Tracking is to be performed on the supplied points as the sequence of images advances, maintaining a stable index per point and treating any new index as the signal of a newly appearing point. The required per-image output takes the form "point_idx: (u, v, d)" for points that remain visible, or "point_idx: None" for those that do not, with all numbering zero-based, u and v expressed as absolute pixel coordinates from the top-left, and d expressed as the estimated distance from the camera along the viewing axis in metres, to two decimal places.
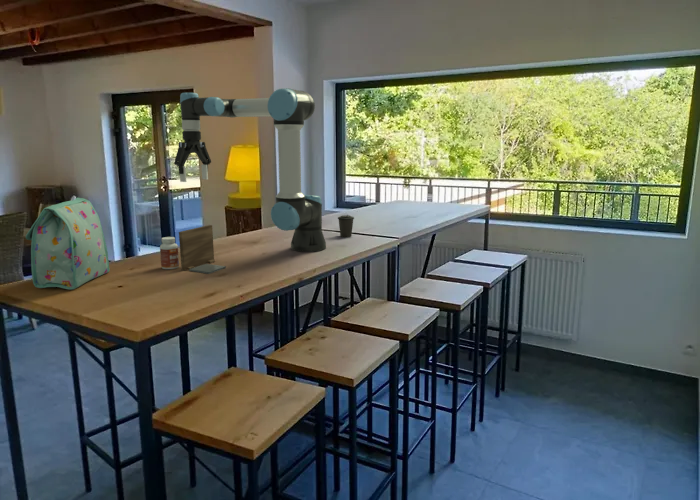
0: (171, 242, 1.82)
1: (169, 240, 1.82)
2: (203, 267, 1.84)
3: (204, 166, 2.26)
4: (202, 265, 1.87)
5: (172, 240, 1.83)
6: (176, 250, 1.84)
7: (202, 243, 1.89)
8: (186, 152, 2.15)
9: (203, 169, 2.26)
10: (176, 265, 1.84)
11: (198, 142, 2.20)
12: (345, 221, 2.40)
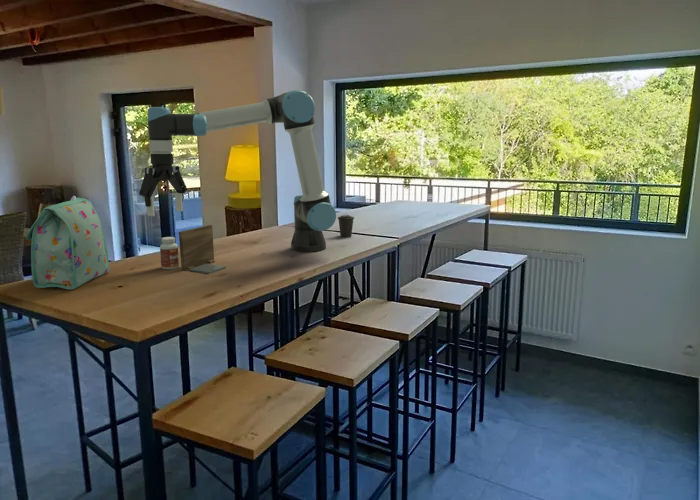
0: (171, 242, 1.82)
1: (169, 240, 1.82)
2: (203, 267, 1.84)
3: (178, 195, 1.86)
4: (202, 265, 1.87)
5: (172, 240, 1.83)
6: (176, 250, 1.84)
7: (202, 243, 1.89)
8: (155, 180, 1.75)
9: (177, 199, 1.86)
10: (176, 265, 1.84)
11: (170, 167, 1.80)
12: (345, 221, 2.40)
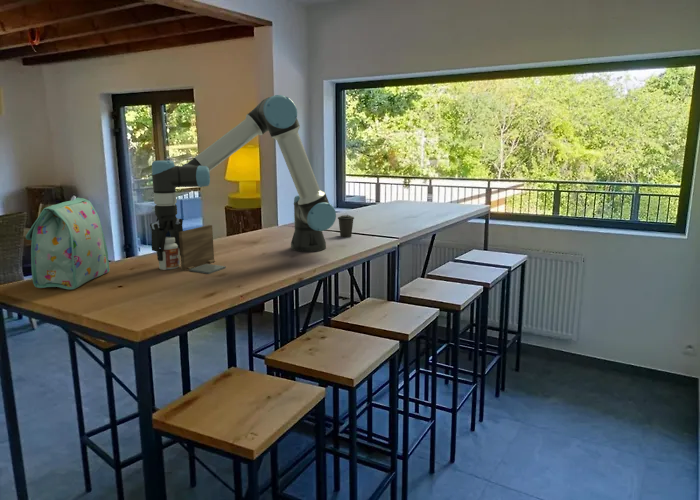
0: (171, 242, 1.82)
1: (169, 240, 1.82)
2: (203, 267, 1.84)
3: None
4: (202, 265, 1.87)
5: (172, 240, 1.83)
6: (176, 250, 1.84)
7: (202, 243, 1.89)
8: (162, 233, 1.80)
9: None
10: (176, 265, 1.84)
11: (175, 217, 1.84)
12: (345, 221, 2.40)
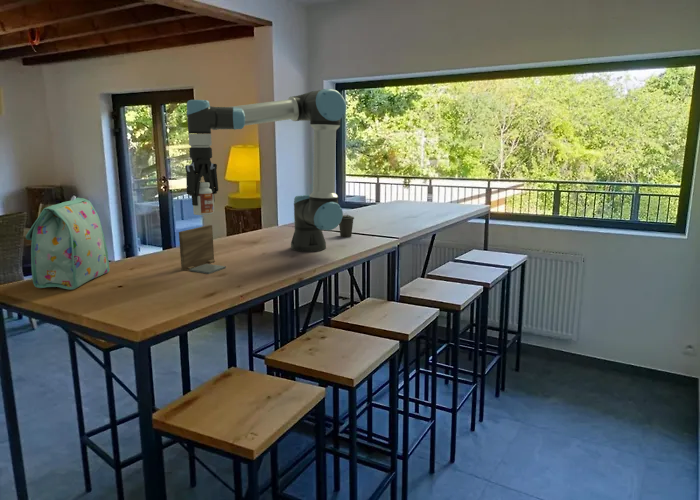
0: (206, 186, 1.76)
1: (204, 184, 1.75)
2: (203, 267, 1.84)
3: None
4: (202, 265, 1.87)
5: (207, 184, 1.76)
6: (211, 195, 1.77)
7: (202, 243, 1.89)
8: (197, 176, 1.73)
9: None
10: (210, 211, 1.77)
11: (209, 160, 1.77)
12: (345, 221, 2.40)
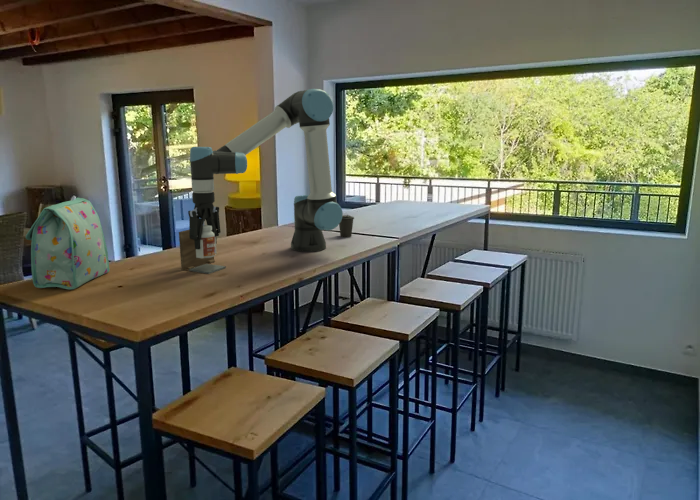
0: (208, 230, 1.79)
1: (206, 228, 1.78)
2: (203, 267, 1.84)
3: None
4: (202, 265, 1.87)
5: (209, 228, 1.79)
6: (213, 239, 1.80)
7: None
8: (199, 221, 1.77)
9: None
10: (212, 254, 1.81)
11: (212, 204, 1.81)
12: (345, 221, 2.40)
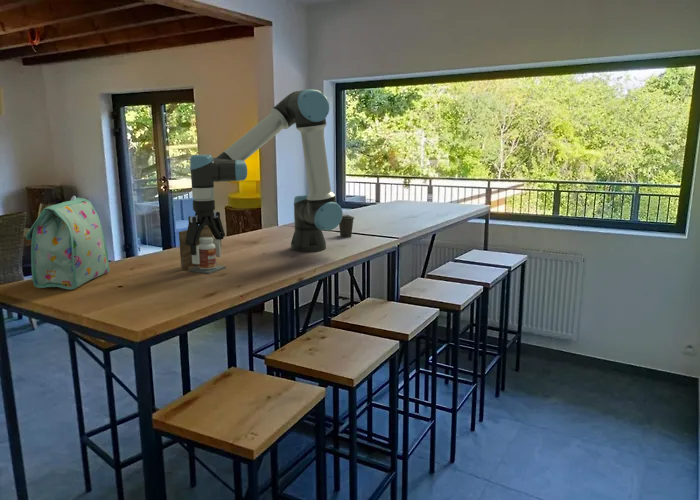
0: (209, 242, 1.80)
1: (207, 240, 1.79)
2: None
3: (217, 241, 1.86)
4: None
5: (210, 240, 1.80)
6: (214, 250, 1.81)
7: None
8: (198, 227, 1.77)
9: (215, 245, 1.87)
10: (213, 265, 1.82)
11: (212, 212, 1.81)
12: (345, 221, 2.40)
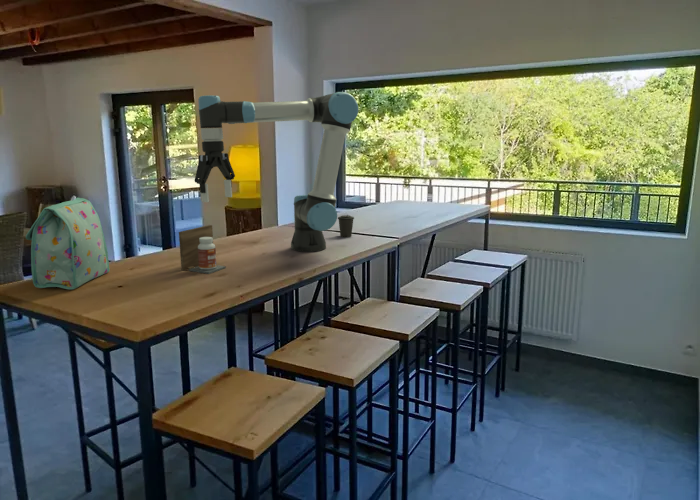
0: (209, 242, 1.80)
1: (207, 240, 1.79)
2: None
3: (227, 182, 1.91)
4: None
5: (210, 240, 1.80)
6: (214, 250, 1.81)
7: None
8: (208, 167, 1.80)
9: (226, 185, 1.92)
10: (213, 265, 1.82)
11: (220, 154, 1.85)
12: (345, 221, 2.40)
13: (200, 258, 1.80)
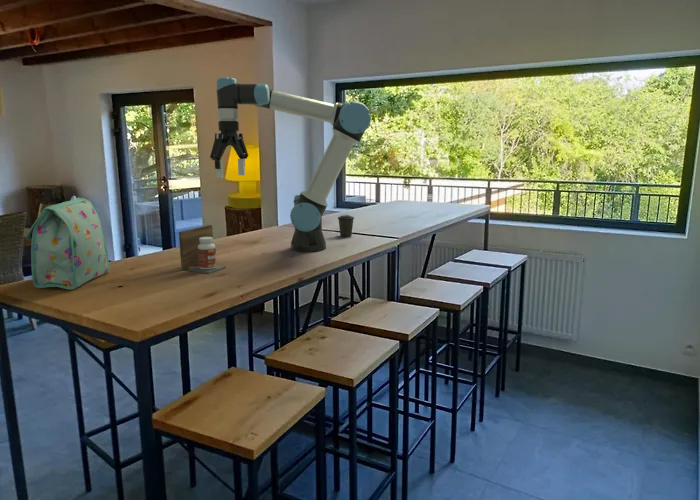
0: (209, 242, 1.80)
1: (207, 240, 1.79)
2: None
3: (241, 160, 2.02)
4: None
5: (210, 240, 1.80)
6: (214, 250, 1.81)
7: None
8: (223, 144, 1.91)
9: (240, 164, 2.03)
10: (213, 265, 1.82)
11: (235, 133, 1.96)
12: (345, 221, 2.40)
13: (200, 258, 1.80)
